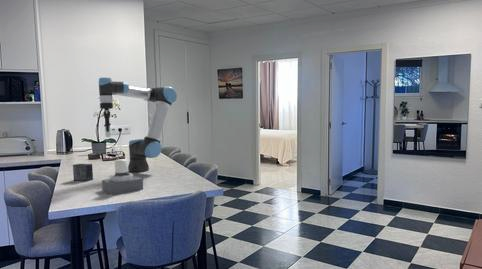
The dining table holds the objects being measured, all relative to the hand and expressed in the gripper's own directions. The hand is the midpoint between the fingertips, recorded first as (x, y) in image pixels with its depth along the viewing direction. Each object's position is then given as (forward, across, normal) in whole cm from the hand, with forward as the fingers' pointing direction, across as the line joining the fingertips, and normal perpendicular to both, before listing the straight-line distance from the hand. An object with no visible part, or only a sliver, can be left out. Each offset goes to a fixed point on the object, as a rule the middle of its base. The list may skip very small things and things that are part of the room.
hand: (108, 136), depth 219 cm
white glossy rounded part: (+23, +29, +6) cm, 38 cm away
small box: (+29, -10, -16) cm, 35 cm away
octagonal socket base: (+29, +30, +6) cm, 42 cm away
